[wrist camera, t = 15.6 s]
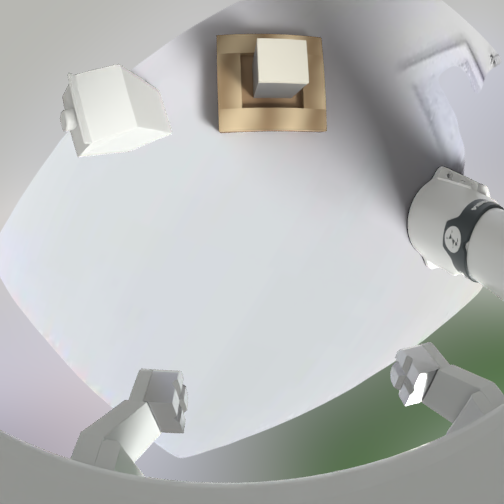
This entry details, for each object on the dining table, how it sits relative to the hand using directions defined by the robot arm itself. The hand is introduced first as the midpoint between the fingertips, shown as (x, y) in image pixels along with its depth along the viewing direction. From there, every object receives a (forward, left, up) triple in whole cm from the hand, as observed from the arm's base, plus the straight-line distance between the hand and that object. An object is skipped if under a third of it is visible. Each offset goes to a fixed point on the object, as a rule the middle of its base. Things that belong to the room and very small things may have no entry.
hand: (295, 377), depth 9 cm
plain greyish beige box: (-3, -17, -31) cm, 36 cm away
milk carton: (+15, -13, -33) cm, 39 cm away
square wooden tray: (-3, -17, -33) cm, 37 cm away
